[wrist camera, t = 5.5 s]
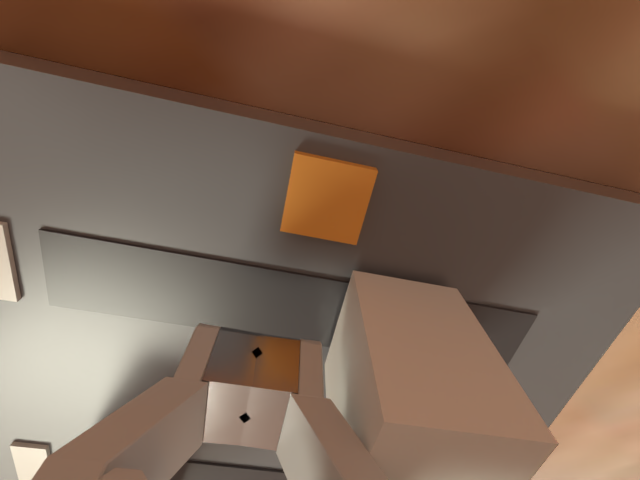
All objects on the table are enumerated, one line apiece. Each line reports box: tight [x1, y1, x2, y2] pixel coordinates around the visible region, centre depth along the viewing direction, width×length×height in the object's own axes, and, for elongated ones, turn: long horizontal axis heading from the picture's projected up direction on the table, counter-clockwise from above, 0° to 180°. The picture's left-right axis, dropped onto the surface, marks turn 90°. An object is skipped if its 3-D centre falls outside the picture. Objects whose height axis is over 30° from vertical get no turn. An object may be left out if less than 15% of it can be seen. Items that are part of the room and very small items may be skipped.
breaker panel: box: [0, 50, 640, 480], centre depth 13 cm, size 20×18×2 cm
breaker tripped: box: [325, 270, 558, 480], centre depth 8 cm, size 3×4×4 cm
